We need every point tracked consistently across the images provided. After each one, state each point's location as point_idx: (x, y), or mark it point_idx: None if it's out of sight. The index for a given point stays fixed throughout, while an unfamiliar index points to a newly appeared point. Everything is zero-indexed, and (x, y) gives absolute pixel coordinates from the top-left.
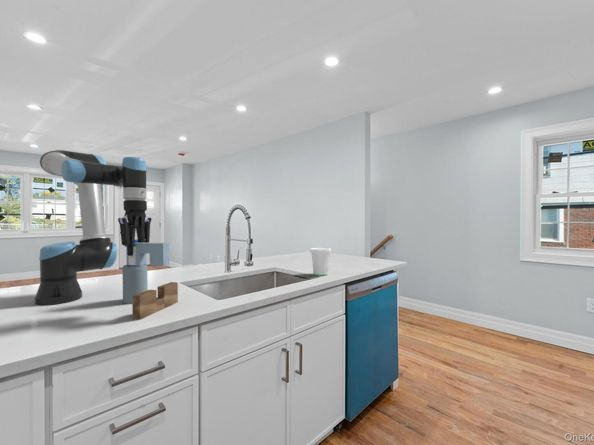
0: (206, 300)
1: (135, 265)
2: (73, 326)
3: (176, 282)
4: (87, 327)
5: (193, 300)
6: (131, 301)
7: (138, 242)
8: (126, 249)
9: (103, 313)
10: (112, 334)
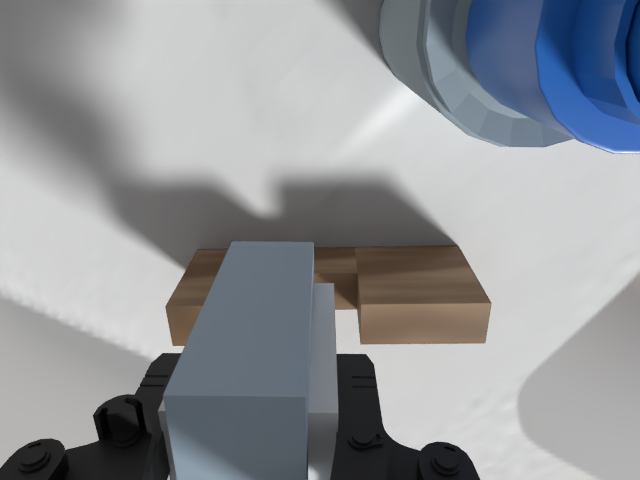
0: (501, 376)
1: (487, 90)
2: (20, 76)
3: (484, 337)
4: (47, 151)
5: (493, 328)
6: (385, 58)
7: (333, 463)
8: (192, 331)
9: (198, 49)
10: (58, 297)
